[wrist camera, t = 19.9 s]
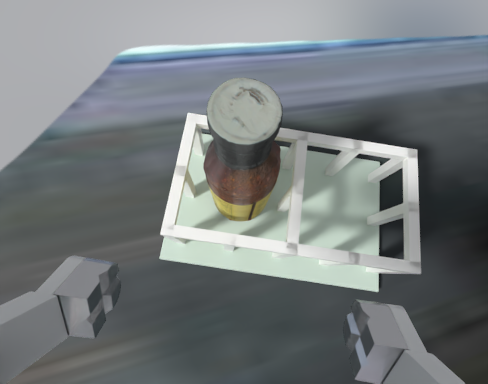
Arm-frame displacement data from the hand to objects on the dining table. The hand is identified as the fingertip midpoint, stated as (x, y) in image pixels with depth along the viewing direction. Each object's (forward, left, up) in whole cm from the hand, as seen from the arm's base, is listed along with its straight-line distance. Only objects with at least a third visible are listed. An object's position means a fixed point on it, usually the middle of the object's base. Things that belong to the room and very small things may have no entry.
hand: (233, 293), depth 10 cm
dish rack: (-4, -9, -23) cm, 25 cm away
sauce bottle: (0, -9, -22) cm, 24 cm away
